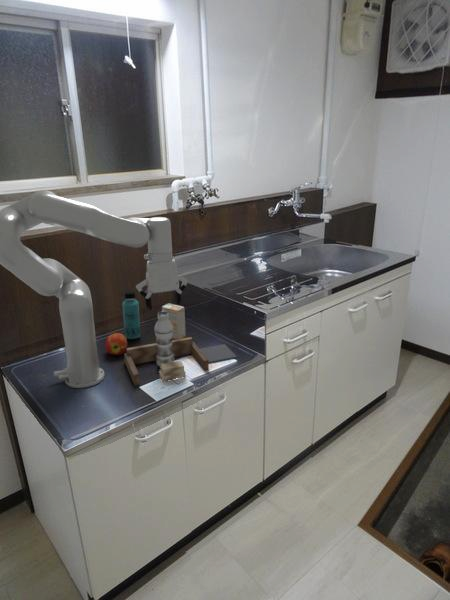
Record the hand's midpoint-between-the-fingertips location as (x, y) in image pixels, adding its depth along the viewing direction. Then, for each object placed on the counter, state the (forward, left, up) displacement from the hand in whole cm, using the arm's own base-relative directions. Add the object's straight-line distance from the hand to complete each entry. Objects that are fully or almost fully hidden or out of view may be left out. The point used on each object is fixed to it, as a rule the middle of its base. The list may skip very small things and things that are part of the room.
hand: (163, 306), depth 141 cm
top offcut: (0, -8, -20) cm, 22 cm away
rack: (0, -1, -22) cm, 22 cm away
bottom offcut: (0, -8, -23) cm, 24 cm away
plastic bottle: (0, 0, -23) cm, 23 cm away
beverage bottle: (-6, +26, -23) cm, 35 cm away
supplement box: (+10, +22, -23) cm, 33 cm away
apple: (-14, +16, -23) cm, 31 cm away
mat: (+20, +1, -22) cm, 30 cm away
